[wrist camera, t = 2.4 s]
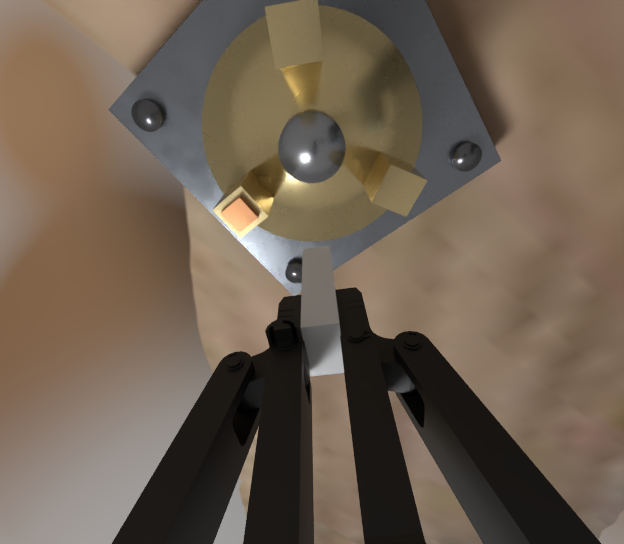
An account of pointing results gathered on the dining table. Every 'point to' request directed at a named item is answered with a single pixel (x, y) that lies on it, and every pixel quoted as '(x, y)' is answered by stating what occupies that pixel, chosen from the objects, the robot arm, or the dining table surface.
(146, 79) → the plate
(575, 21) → the dining table surface
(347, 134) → the three-jaw lathe chuck
